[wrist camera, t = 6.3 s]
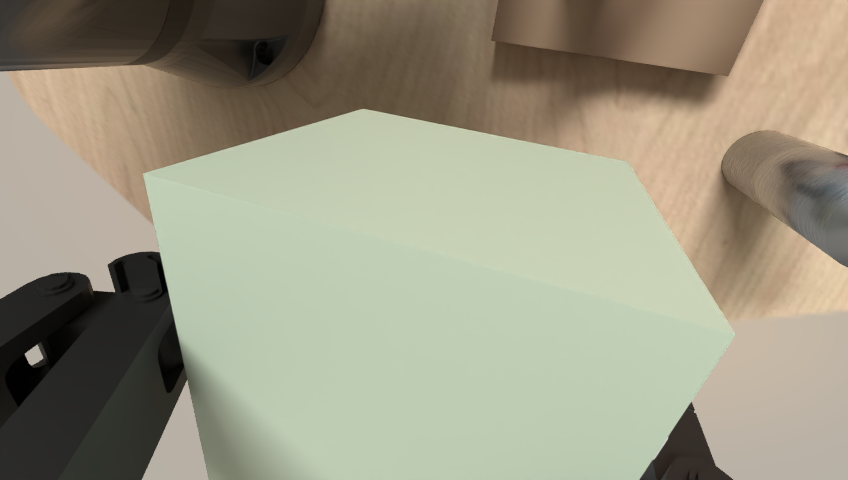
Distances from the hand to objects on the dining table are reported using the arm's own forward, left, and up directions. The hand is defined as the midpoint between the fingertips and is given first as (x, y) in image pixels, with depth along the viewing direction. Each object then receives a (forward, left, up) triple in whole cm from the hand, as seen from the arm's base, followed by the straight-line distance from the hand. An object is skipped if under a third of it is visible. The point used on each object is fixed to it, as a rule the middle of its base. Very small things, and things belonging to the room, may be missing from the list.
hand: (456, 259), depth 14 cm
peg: (+14, +3, -14) cm, 20 cm away
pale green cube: (0, 0, -1) cm, 1 cm away
